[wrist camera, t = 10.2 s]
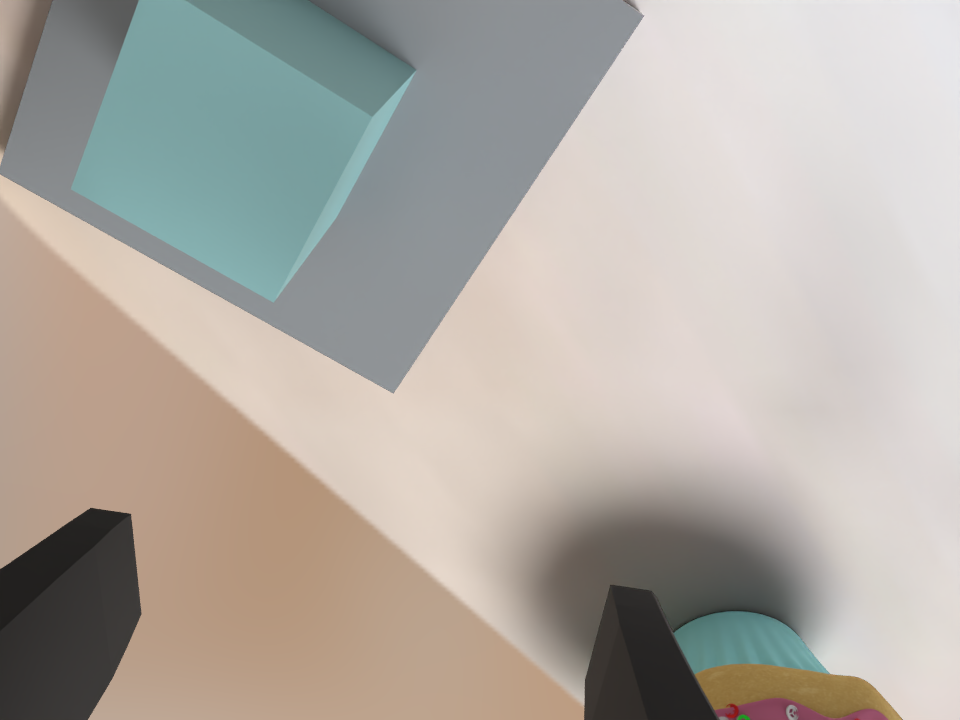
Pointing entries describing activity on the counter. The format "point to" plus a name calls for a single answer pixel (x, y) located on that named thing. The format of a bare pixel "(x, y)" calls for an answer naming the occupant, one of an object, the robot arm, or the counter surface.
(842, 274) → the counter surface
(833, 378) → the counter surface
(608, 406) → the counter surface
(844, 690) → the cupcake
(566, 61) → the slate coaster
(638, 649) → the robot arm
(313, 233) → the teal block
